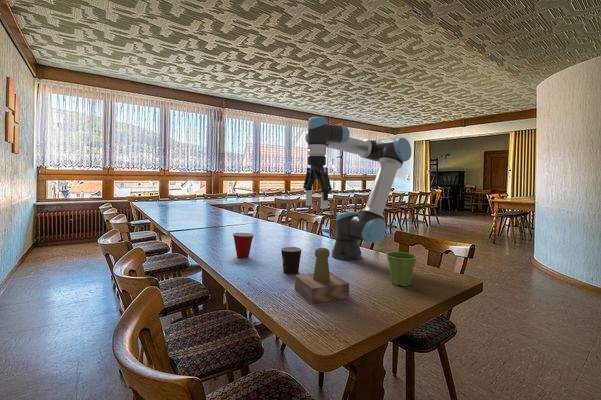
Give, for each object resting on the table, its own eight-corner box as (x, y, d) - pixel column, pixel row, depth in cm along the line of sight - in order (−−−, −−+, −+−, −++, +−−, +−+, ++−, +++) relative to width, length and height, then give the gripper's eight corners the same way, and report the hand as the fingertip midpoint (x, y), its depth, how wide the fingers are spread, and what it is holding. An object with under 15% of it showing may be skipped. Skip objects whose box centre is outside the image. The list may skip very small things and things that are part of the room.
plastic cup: (258, 256, 156) (258, 232, 155) (243, 260, 147) (244, 236, 146) (242, 253, 162) (242, 230, 161) (227, 257, 153) (227, 233, 152)
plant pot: (421, 283, 120) (423, 255, 119) (407, 291, 112) (409, 260, 111) (393, 276, 128) (395, 249, 128) (378, 282, 120) (380, 254, 119)
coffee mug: (298, 276, 126) (299, 252, 125) (278, 274, 128) (278, 250, 127) (304, 268, 137) (304, 246, 137) (285, 266, 139) (285, 244, 138)
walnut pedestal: (328, 284, 117) (328, 271, 117) (348, 297, 104) (349, 283, 104) (294, 288, 112) (295, 275, 111) (311, 303, 99) (312, 288, 98)
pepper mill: (311, 276, 111) (312, 246, 110) (328, 276, 111) (329, 246, 110) (314, 282, 105) (314, 250, 104) (331, 281, 105) (332, 250, 104)
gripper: (296, 156, 136) (295, 204, 138) (323, 153, 114) (323, 210, 116) (311, 157, 139) (310, 203, 141) (341, 154, 117) (340, 209, 119)
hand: (316, 207), depth 128 cm, fingers open, 13 cm apart
